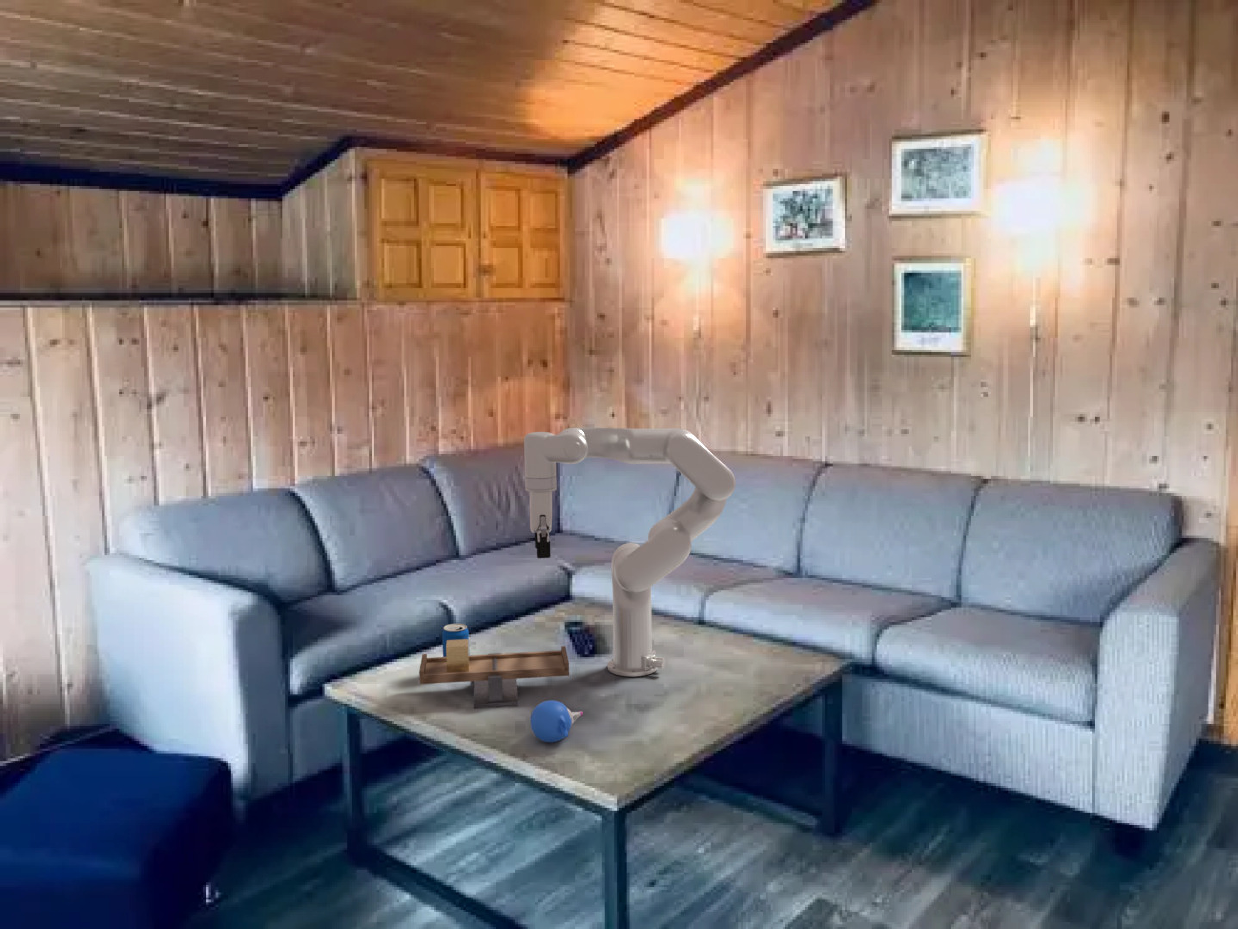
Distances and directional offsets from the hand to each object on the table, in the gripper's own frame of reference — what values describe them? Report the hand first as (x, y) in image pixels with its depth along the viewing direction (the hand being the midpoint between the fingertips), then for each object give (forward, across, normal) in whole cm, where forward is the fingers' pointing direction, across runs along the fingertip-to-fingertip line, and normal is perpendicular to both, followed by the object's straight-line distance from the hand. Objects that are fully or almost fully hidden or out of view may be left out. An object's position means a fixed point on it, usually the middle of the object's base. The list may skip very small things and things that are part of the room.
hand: (542, 552), depth 257 cm
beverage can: (+31, -2, -22) cm, 38 cm away
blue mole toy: (+31, +40, +1) cm, 50 cm away
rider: (+24, +12, -21) cm, 34 cm away
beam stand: (+30, +12, -12) cm, 35 cm away
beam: (+24, +12, -12) cm, 30 cm away
